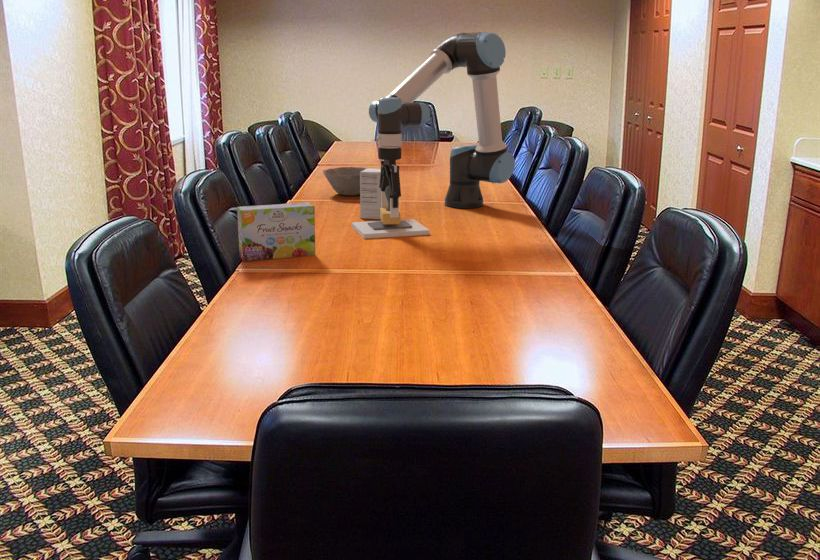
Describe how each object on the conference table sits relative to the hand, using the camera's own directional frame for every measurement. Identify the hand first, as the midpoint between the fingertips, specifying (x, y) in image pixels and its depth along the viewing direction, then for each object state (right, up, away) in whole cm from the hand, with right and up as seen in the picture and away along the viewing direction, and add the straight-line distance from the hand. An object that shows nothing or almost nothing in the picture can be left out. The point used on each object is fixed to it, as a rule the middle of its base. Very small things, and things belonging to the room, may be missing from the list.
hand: (389, 213), depth 249 cm
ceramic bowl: (-18, +14, +65) cm, 69 cm away
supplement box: (-6, +1, +23) cm, 24 cm away
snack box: (-31, -15, -31) cm, 47 cm away
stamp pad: (0, -5, +2) cm, 6 cm away
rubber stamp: (0, -3, +1) cm, 3 cm away
